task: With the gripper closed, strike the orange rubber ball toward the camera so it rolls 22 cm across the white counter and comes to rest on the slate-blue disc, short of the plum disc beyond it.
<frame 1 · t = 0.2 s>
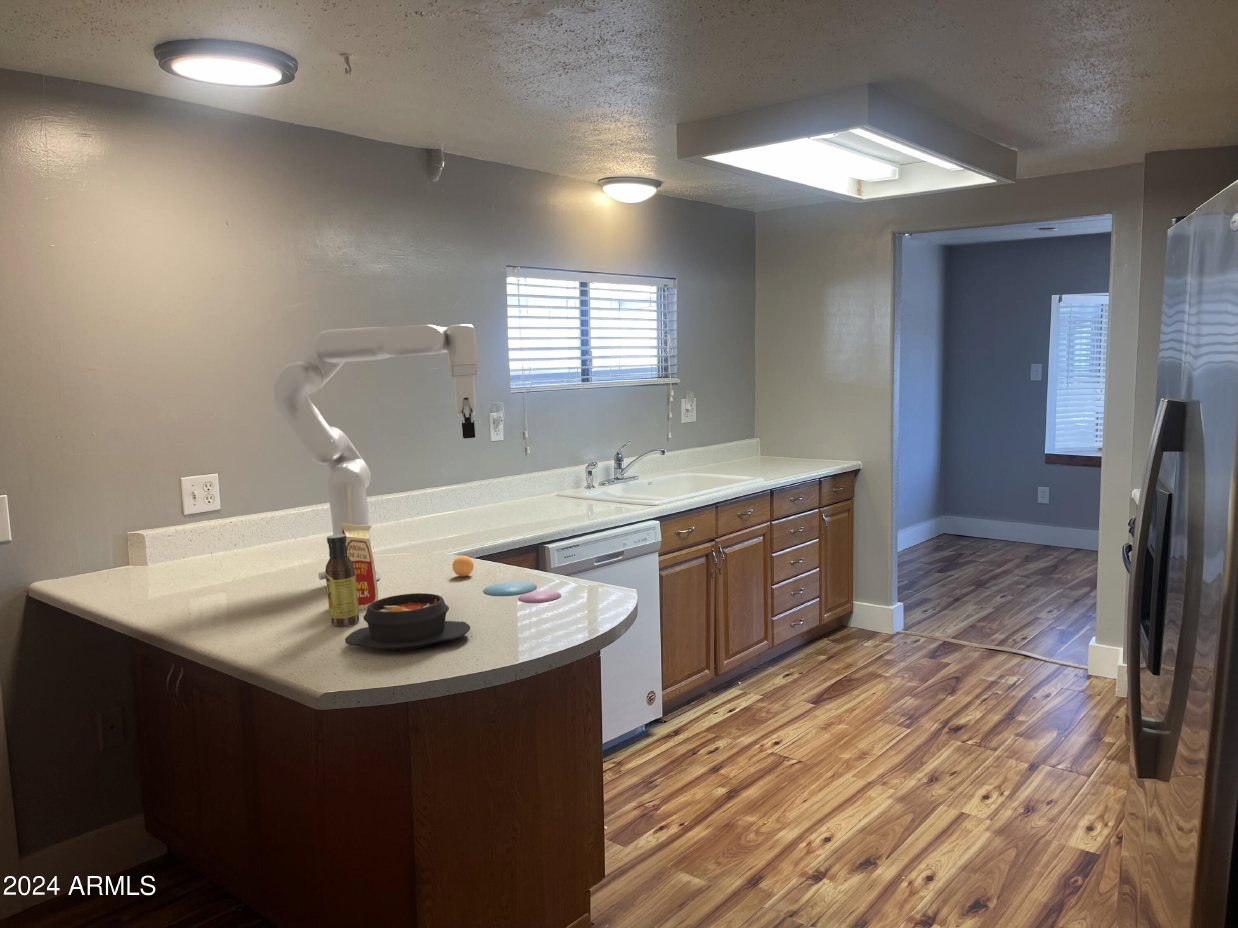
hand: (469, 436, 245), 36 cm above the worktop, tool pointing down, fingers open, 9 cm apart
sauce bottle: (345, 624, 204), on the worktop
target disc: (510, 588, 227), on the worktop
ball: (463, 566, 243), on the worktop
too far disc: (539, 596, 218), on the worktop
casserole: (409, 643, 188), on the worktop
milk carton: (360, 604, 221), on the worktop
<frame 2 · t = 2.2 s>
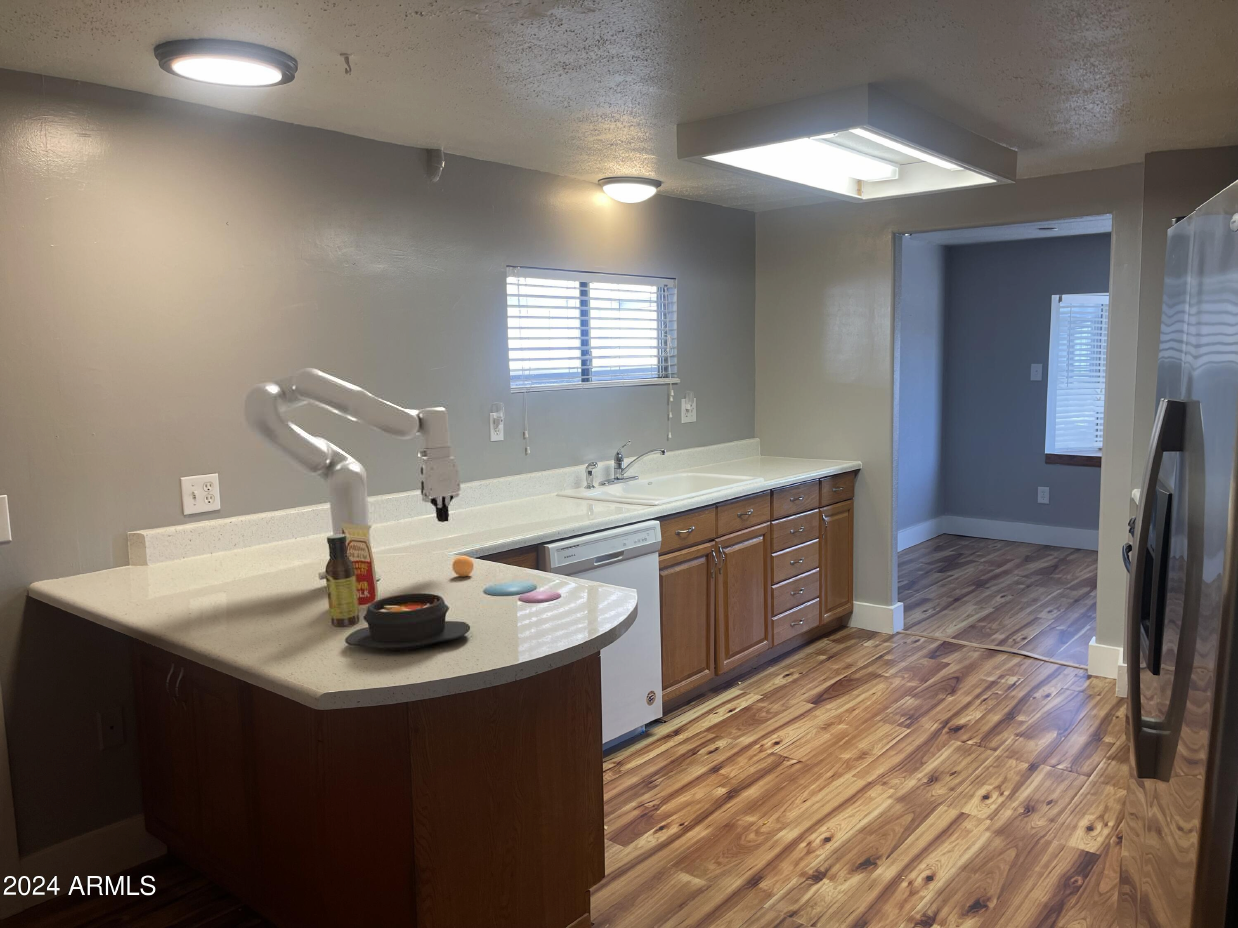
hand: (443, 521, 250), 14 cm above the worktop, tool pointing down, fingers closed
nothing on the worktop moved.
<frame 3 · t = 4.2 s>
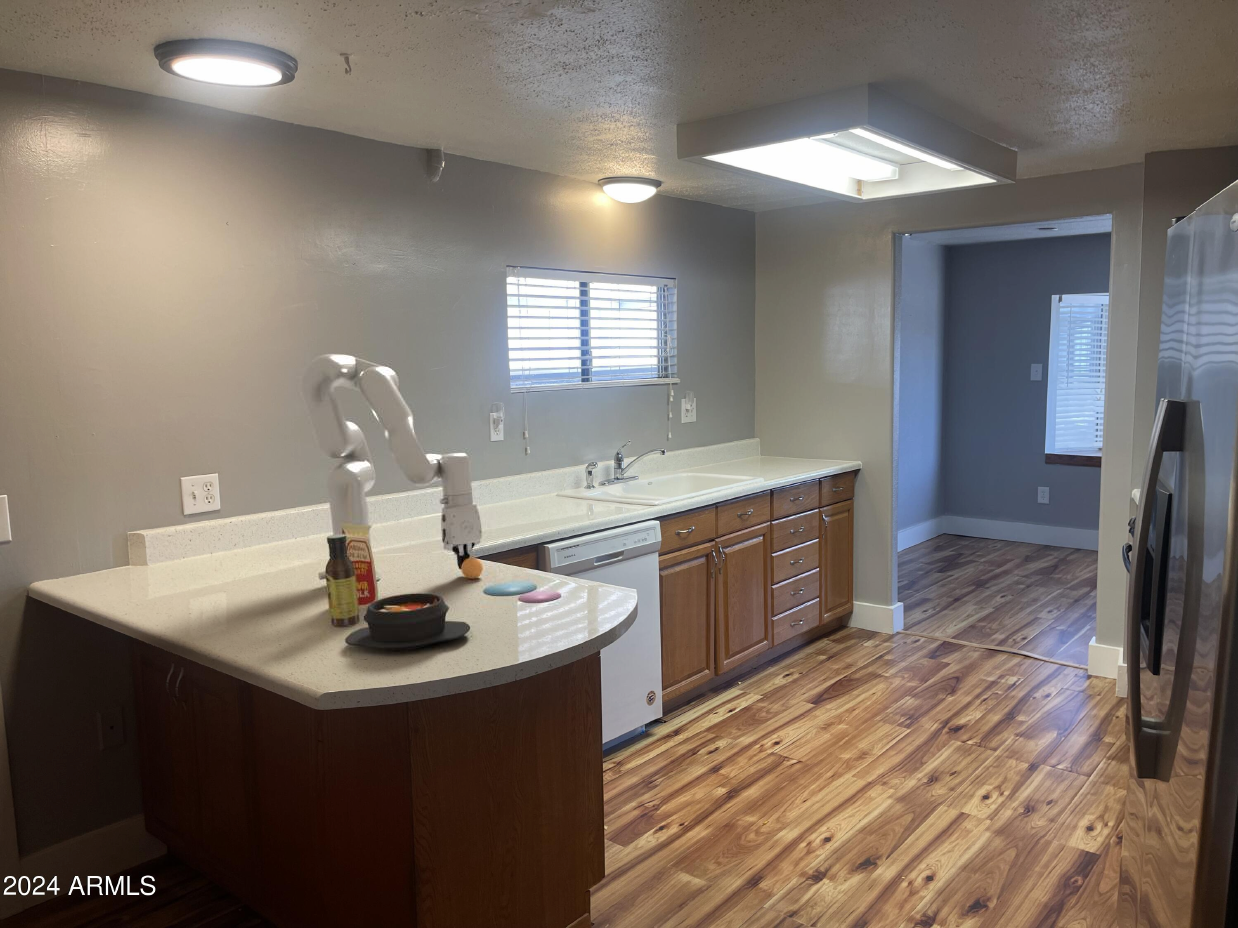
hand: (464, 568, 244), 2 cm above the worktop, tool pointing down, fingers closed
ball: (471, 568, 240), on the worktop
everything else where it was.
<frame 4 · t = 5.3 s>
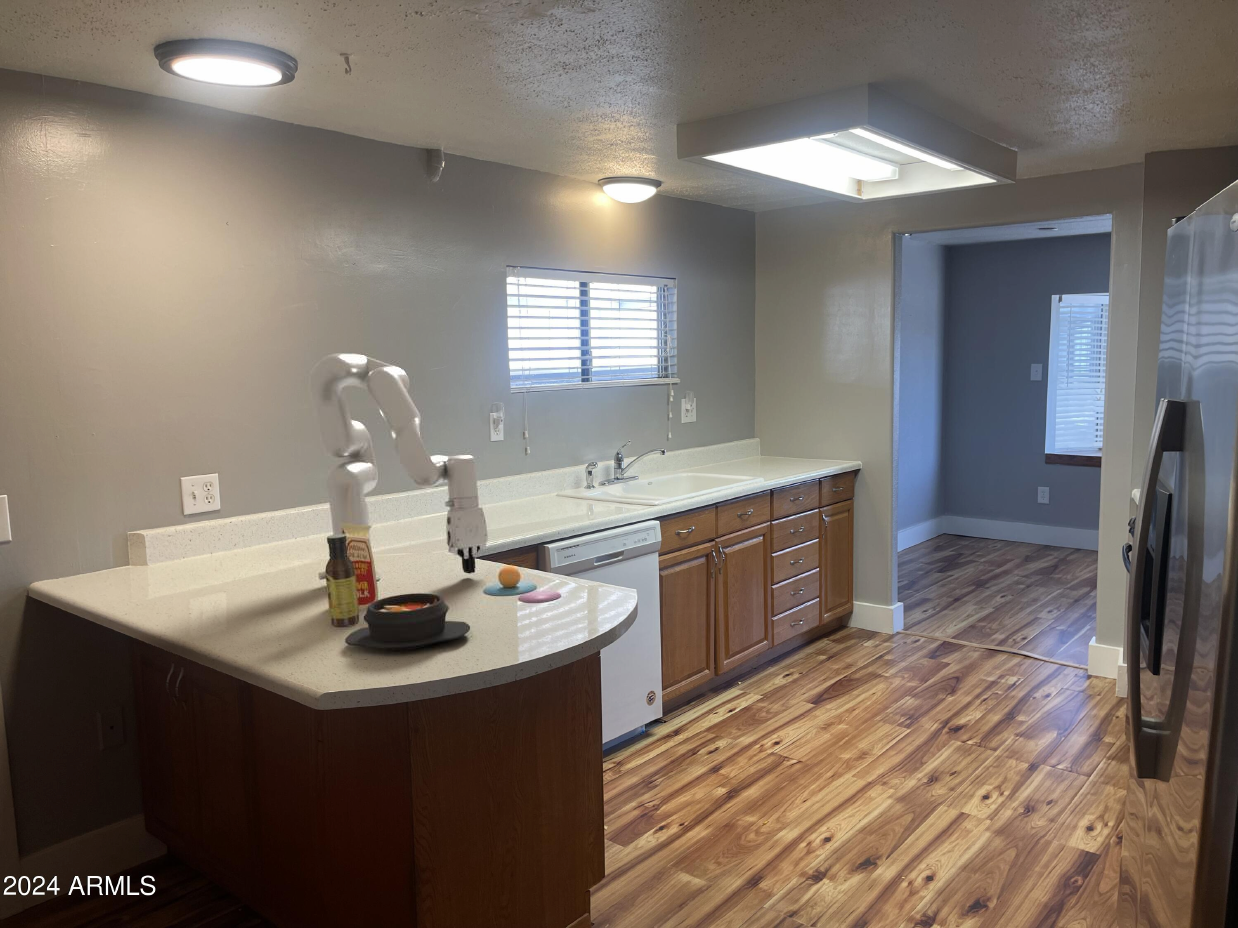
hand: (469, 572, 241), 2 cm above the worktop, tool pointing down, fingers closed
ball: (509, 576, 228), on the worktop
everything else where it was.
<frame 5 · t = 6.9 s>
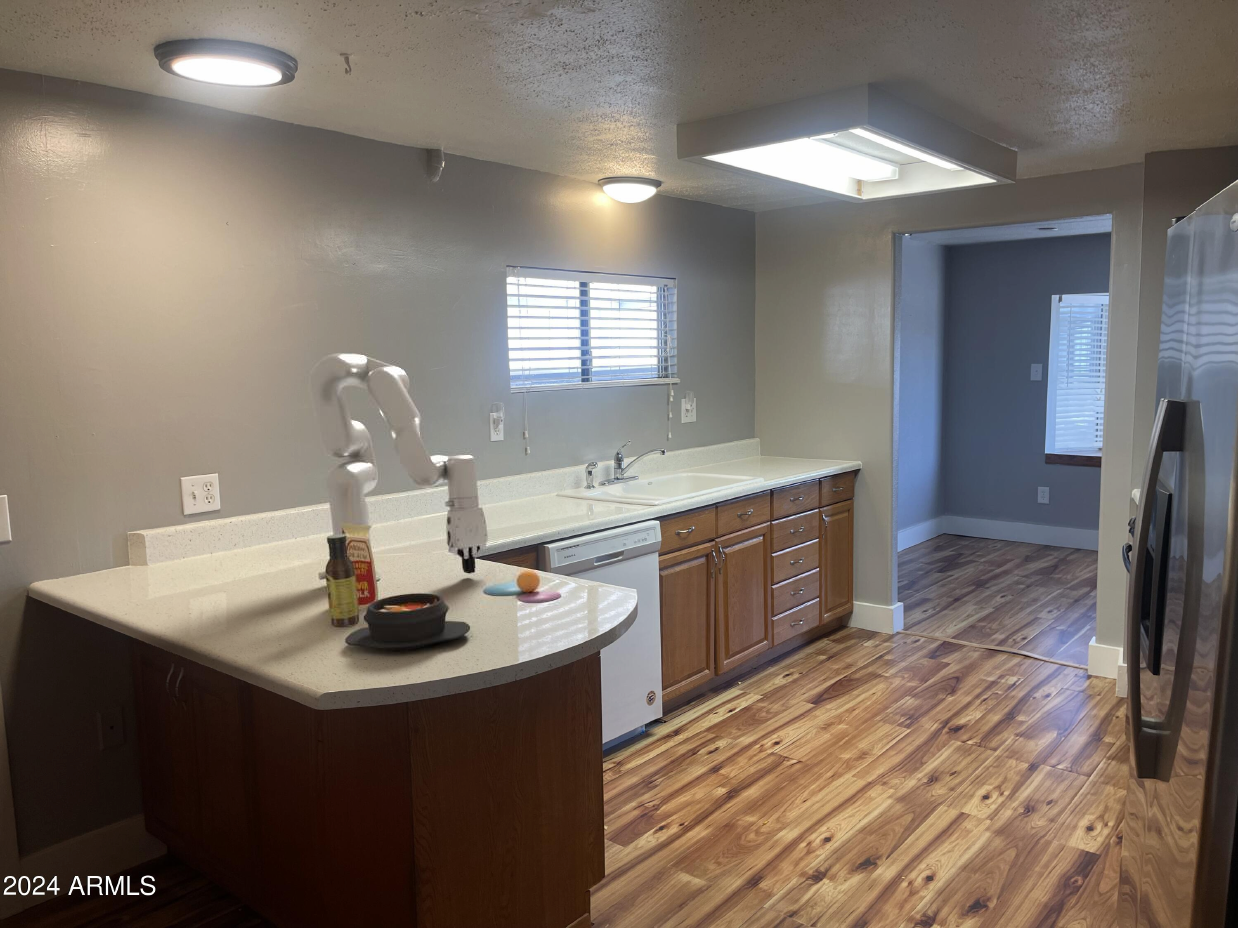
hand: (469, 572, 241), 2 cm above the worktop, tool pointing down, fingers closed
ball: (528, 581, 222), on the worktop
everything else where it was.
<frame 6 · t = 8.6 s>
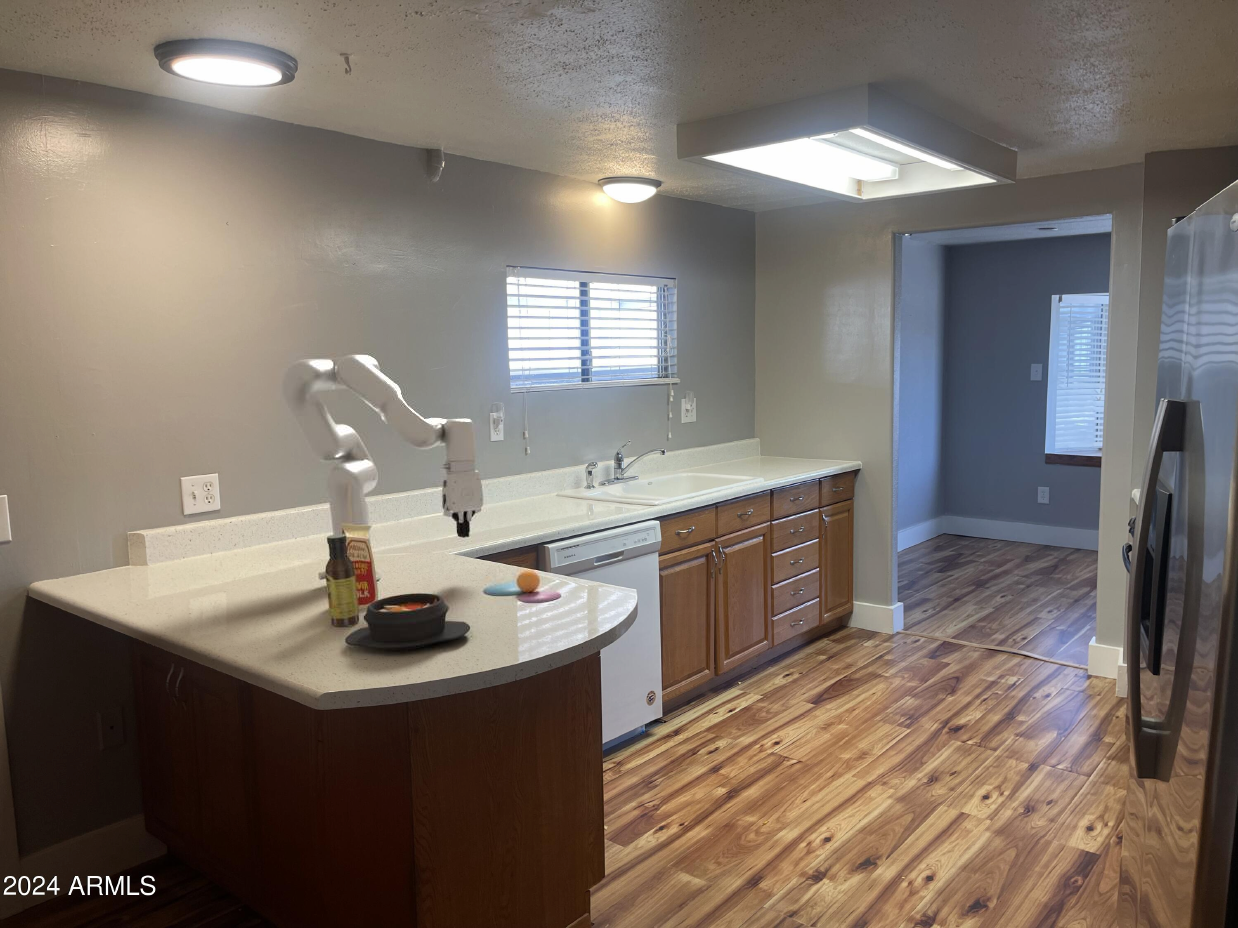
hand: (463, 536, 240), 11 cm above the worktop, tool pointing down, fingers closed
nothing on the worktop moved.
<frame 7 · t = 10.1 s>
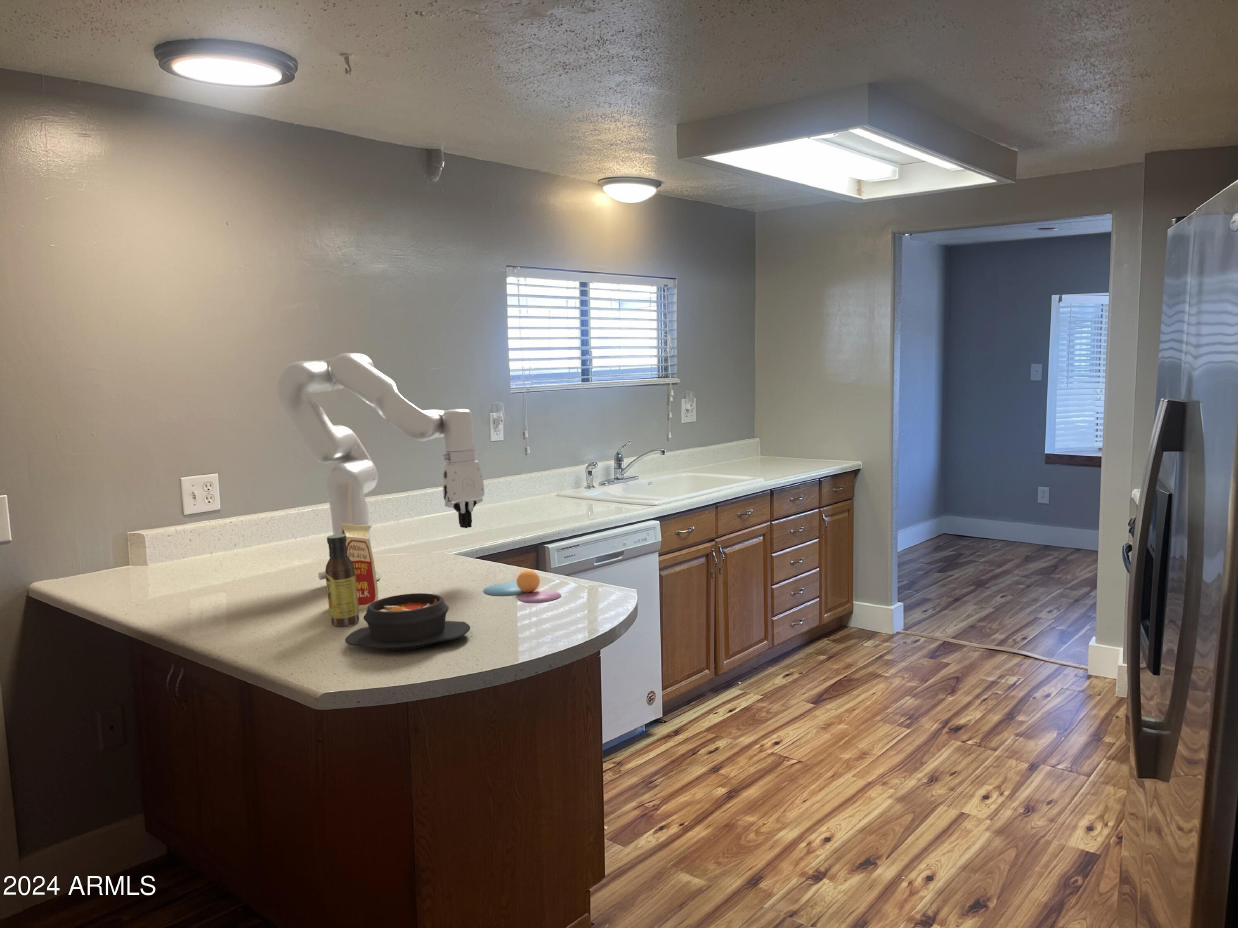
hand: (465, 527, 240), 13 cm above the worktop, tool pointing down, fingers closed
nothing on the worktop moved.
at the end: ball 6.7 cm from the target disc (horizontally); ball at rest at the end (0.0 cm/s); ball moved 28.6 cm from its start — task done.
